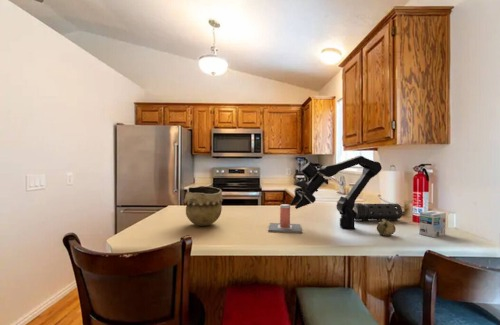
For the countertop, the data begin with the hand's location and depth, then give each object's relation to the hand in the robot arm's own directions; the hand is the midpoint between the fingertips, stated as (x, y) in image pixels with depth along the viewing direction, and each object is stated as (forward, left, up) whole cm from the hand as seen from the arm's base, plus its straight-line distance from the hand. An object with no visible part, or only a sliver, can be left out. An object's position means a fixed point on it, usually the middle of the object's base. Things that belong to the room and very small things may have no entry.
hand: (293, 206), depth 136 cm
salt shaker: (+4, +1, -10) cm, 11 cm away
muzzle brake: (-48, -27, -12) cm, 57 cm away
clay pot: (+47, +1, -12) cm, 48 cm away
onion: (-43, +4, -12) cm, 45 cm away
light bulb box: (-66, -1, -12) cm, 67 cm away
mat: (+4, +1, -11) cm, 12 cm away
